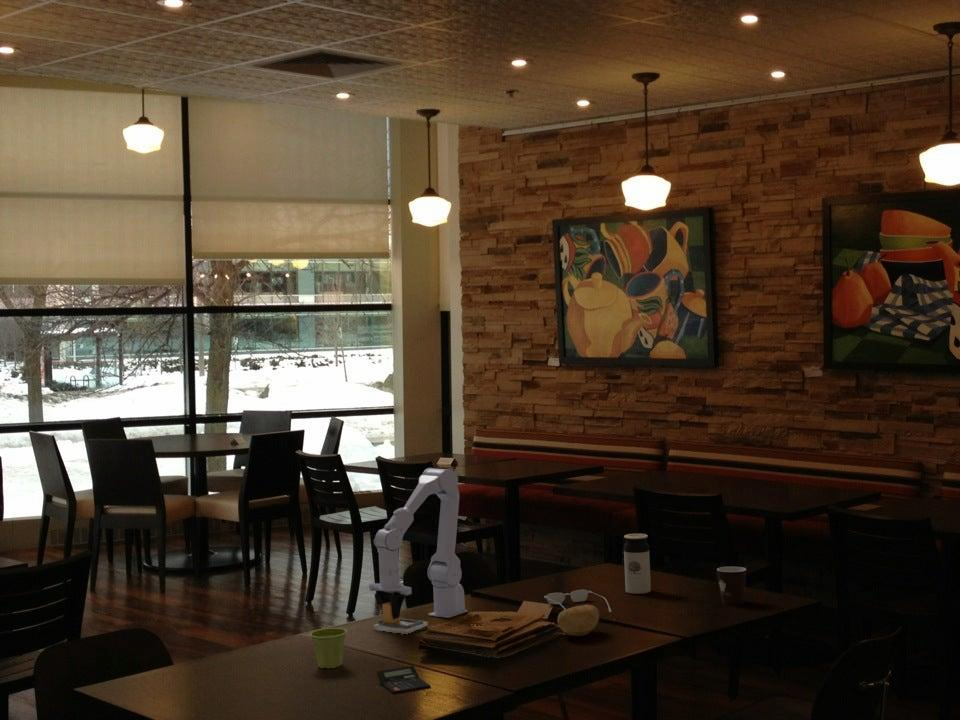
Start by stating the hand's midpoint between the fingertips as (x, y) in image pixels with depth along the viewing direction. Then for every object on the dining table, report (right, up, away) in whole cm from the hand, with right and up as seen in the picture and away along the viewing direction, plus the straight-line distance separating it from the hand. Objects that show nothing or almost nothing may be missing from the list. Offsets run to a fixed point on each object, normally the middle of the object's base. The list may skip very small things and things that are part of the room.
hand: (391, 617), depth 341 cm
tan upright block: (0, -1, 0) cm, 1 cm away
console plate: (+3, -3, -2) cm, 5 cm away
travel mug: (+76, +1, +33) cm, 83 cm away
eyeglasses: (+56, -1, +14) cm, 57 cm away
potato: (+53, -1, -18) cm, 56 cm away
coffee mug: (+102, +1, +15) cm, 103 cm away
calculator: (+7, -4, -59) cm, 59 cm away
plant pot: (-13, -4, -39) cm, 41 cm away
